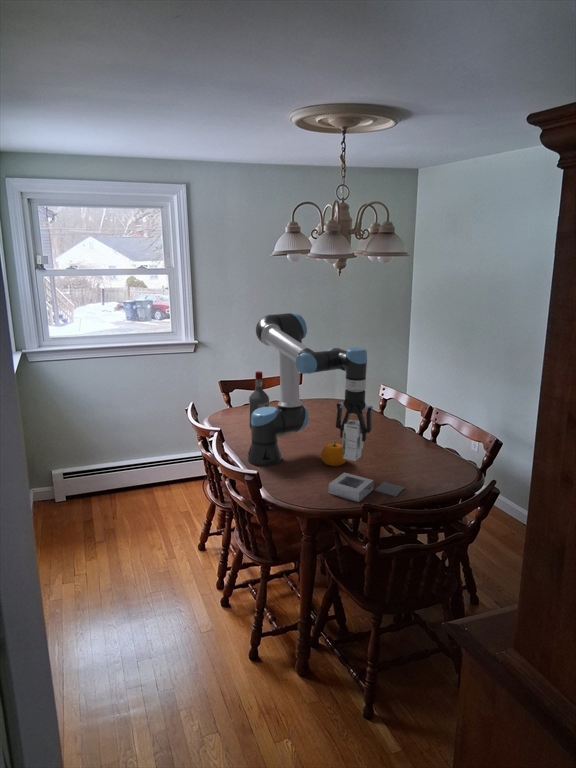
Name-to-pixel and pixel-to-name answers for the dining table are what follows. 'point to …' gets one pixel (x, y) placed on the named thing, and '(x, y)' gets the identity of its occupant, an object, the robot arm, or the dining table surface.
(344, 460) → the fruit
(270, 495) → the dining table surface
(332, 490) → the block
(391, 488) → the mat
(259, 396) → the liquor
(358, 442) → the syrup box
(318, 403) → the dining table surface
